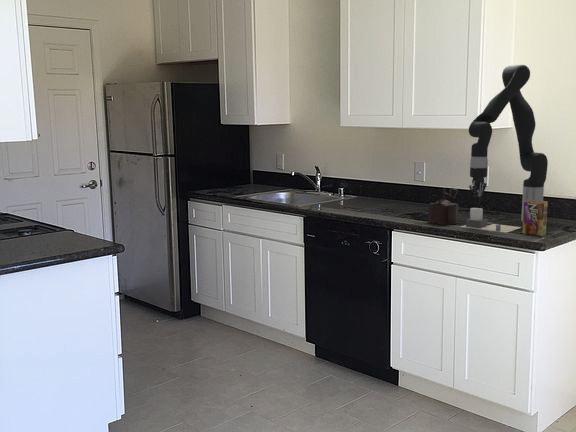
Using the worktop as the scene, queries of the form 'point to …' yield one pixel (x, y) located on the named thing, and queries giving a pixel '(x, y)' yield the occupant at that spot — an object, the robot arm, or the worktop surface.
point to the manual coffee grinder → (444, 210)
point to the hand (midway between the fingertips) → (477, 204)
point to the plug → (476, 214)
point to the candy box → (535, 217)
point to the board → (488, 226)
